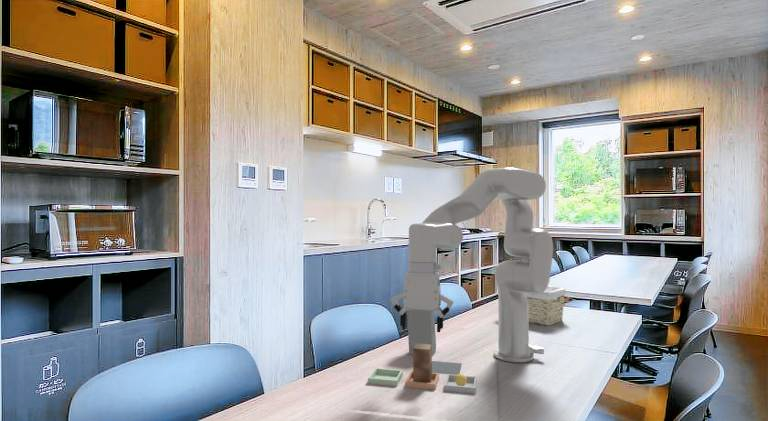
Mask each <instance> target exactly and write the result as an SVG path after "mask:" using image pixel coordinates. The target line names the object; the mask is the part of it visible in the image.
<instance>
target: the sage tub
mask: <svg viewBox="0 0 768 421" xmlns="http://www.w3.org/2000/svg"><path fill="white" fill-rule="evenodd" d="M403 376H404V370H403V369H393V368H392V369H390V368H381V367H375V368H374V369H373V370H372V372H371V373H370V375H369V376H368V378H367V384H370V385H379V386H381V385H382V386H389V387H390V386H392V387H398V385H399V384H400V381H401V379H402V378H403Z"/></svg>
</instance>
